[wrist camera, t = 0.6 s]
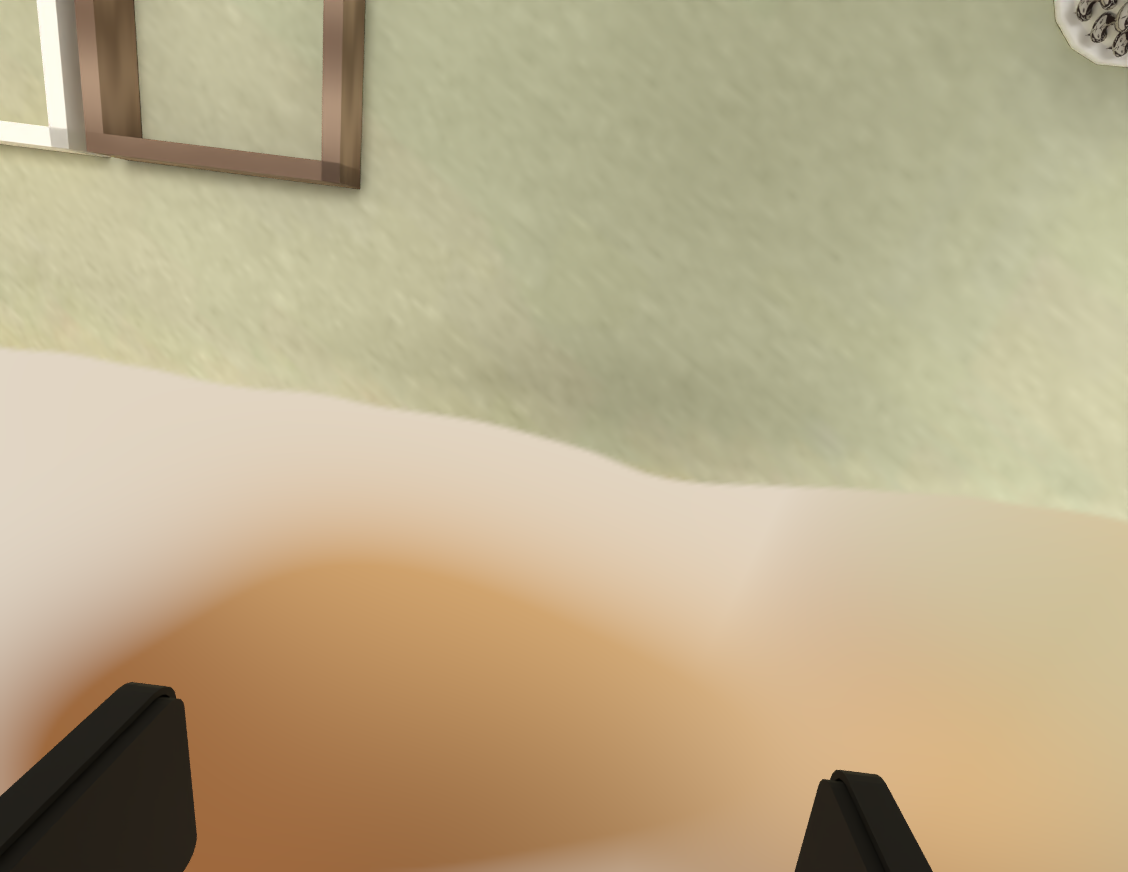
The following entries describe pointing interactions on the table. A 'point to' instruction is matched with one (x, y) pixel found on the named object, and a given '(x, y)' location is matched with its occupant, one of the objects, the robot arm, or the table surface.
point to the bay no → (118, 134)
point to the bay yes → (56, 86)
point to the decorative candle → (1095, 29)
